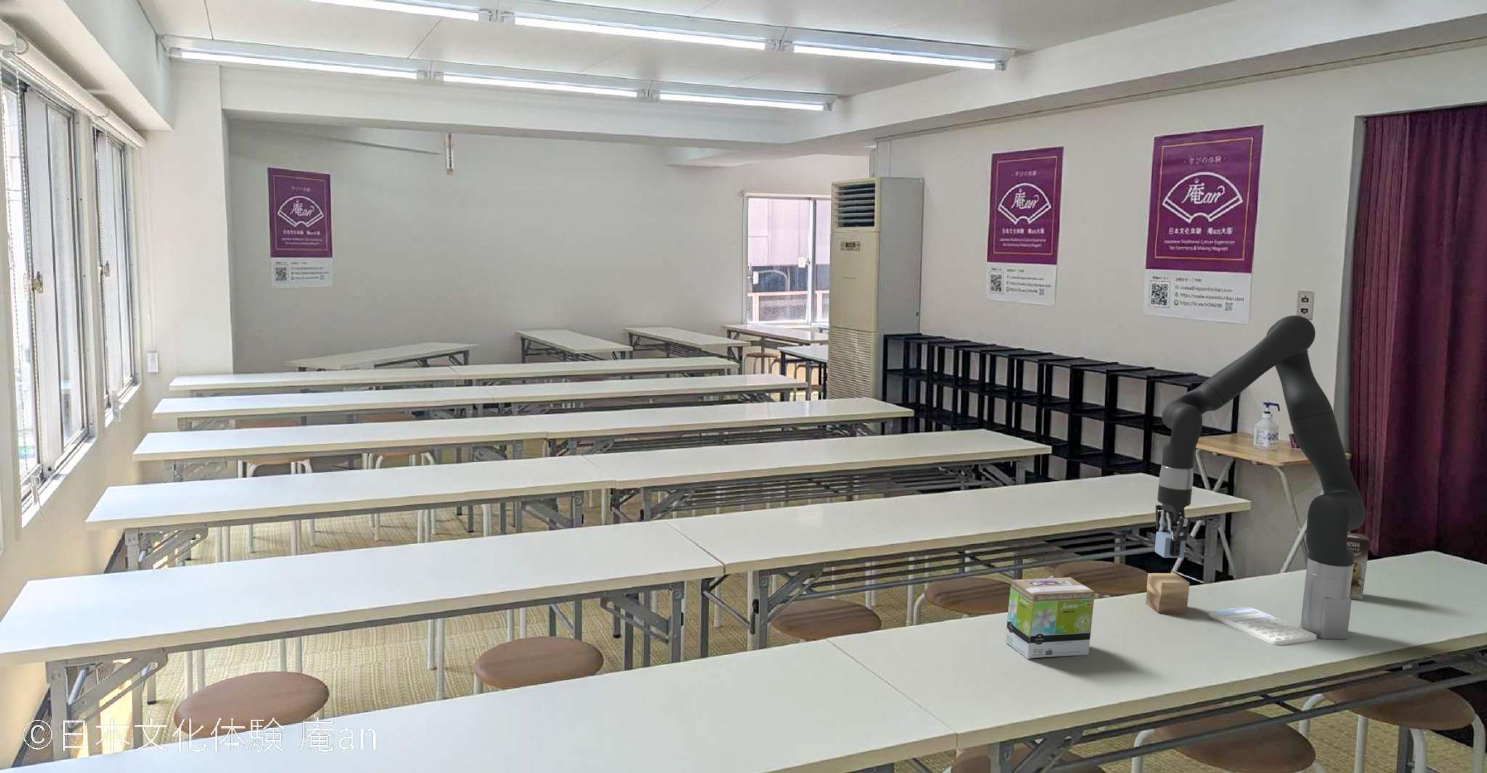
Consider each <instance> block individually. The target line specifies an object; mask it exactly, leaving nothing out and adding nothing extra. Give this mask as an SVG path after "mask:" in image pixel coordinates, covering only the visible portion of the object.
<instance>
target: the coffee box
mask: <svg viewBox="0 0 1487 773" xmlns="http://www.w3.org/2000/svg"><path fill="white" fill-rule="evenodd" d="M1370 543H1371V541H1370V539H1369V538H1368V537H1367V536H1366V535H1364V534H1363V533H1354V532H1353V533H1352V532H1348V536H1347V547H1348V549H1350V550H1352V551H1353V553H1354V564H1353V572H1352V580H1351V589H1350V597H1349V598H1350V599H1351V600H1358V601H1359V600H1360V601H1362V600H1363V596H1364V588H1365V582H1366V572H1367V564H1368V559H1369V558H1368V557H1369V549H1370Z"/></svg>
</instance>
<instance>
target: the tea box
mask: <svg viewBox="0 0 1487 773" xmlns="http://www.w3.org/2000/svg"><path fill="white" fill-rule="evenodd" d="M1095 593H1096V592H1095V590H1092V589H1091V588H1089V587H1088V586H1086V585H1084V584H1082V583H1081V582H1079V581H1077V580H1075V579H1074V578H1072V577H1070V576H1068V577H1047V578H1027V579H1026V578H1025V579H1022V578H1021V579H1011V581H1010V591H1009V598H1008V610H1007V620H1006V629H1005V631H1006V632H1005V639H1004V642H1005V643H1006V644H1007V645H1008V646H1010V647H1011V648H1013V650H1014V651H1016V652H1018V653H1019V654H1020V655H1021V656H1023V657H1025V658H1026V659H1028V660H1029V659H1035V658H1038V659H1039V658H1051V657H1052V658H1053V657H1071V656H1073V657H1074V656H1075V657H1076V656H1087V655H1089V652H1090V643H1091V634H1092V623H1093V613H1094V603H1095Z"/></svg>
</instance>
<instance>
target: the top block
mask: <svg viewBox="0 0 1487 773" xmlns="http://www.w3.org/2000/svg"><path fill="white" fill-rule="evenodd" d="M1146 580H1147V581H1146V582H1147V584H1146V590H1147V589H1148V590H1149V591H1151V592H1152V593H1153V594H1155V595H1156V596H1158V597H1159V598H1188V599H1189V592H1190V585H1191V584H1190V582H1189V581H1188V580H1186V579H1185V578H1183V577H1182V576H1181V575H1178V574H1177V573H1171V572H1170V573H1169V572H1167V573H1166V572H1164V573H1163V572H1162V573H1161V572H1152V573H1150V572H1149V573H1147V579H1146Z"/></svg>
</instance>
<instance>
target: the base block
mask: <svg viewBox="0 0 1487 773" xmlns="http://www.w3.org/2000/svg"><path fill="white" fill-rule="evenodd" d="M1188 600H1189V597H1188V598H1159V597H1158V596H1156V595H1155V594H1153V593H1152V592H1151V591H1149V590H1148V589H1147V588H1146V599H1145V605H1147V606H1148V607H1149V608H1151V609H1152V610H1153V611H1154V612H1156V613H1157V614H1158V615H1159V614H1161V615H1162V614H1163V615H1164V614H1165V615H1167V614H1168V615H1170V614H1171V615H1187V613H1188V602H1189V601H1188Z"/></svg>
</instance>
